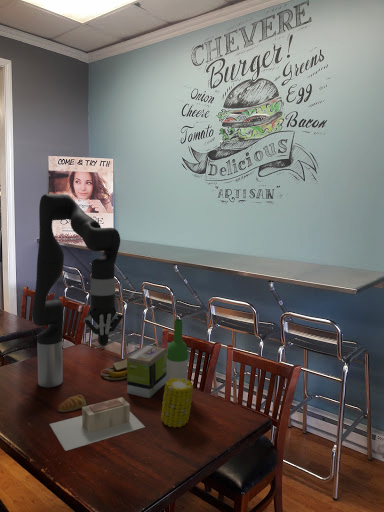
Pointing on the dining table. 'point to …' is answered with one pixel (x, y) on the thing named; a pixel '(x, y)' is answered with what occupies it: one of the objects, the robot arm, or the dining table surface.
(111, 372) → the toy sandwich meal
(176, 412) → the food
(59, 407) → the pastry
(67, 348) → the dining table surface
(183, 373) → the wine bottle
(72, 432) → the grey mat
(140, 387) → the tea box
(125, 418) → the maple block
